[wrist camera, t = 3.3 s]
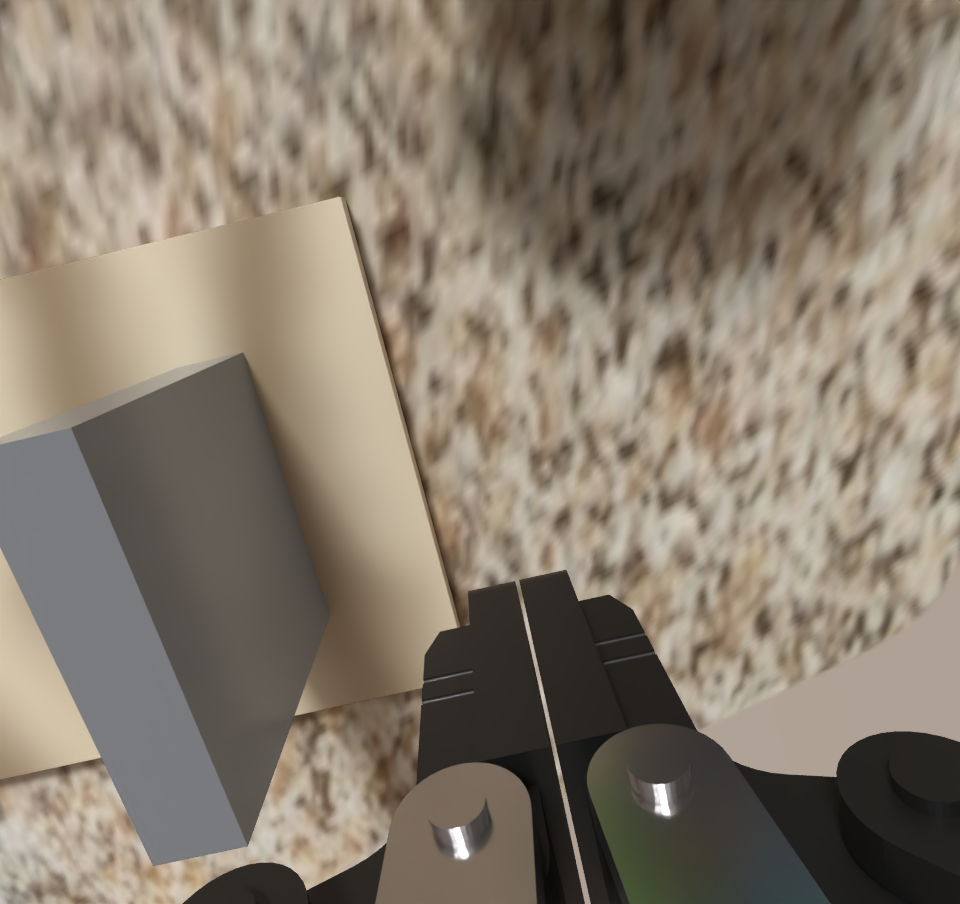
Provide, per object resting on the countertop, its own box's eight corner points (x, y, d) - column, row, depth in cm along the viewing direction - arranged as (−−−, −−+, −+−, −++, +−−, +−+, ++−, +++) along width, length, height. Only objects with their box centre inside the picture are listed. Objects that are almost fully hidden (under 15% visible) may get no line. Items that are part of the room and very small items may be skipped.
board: (345, 199, 19) (340, 196, 18) (470, 663, 24) (470, 677, 23) (-300, 356, 20) (-331, 360, 19) (-58, 778, 24) (-75, 795, 24)
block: (242, 352, 19) (70, 428, 11) (330, 615, 22) (247, 846, 13) (174, 368, 20) (-51, 456, 11) (269, 628, 22) (148, 866, 13)
